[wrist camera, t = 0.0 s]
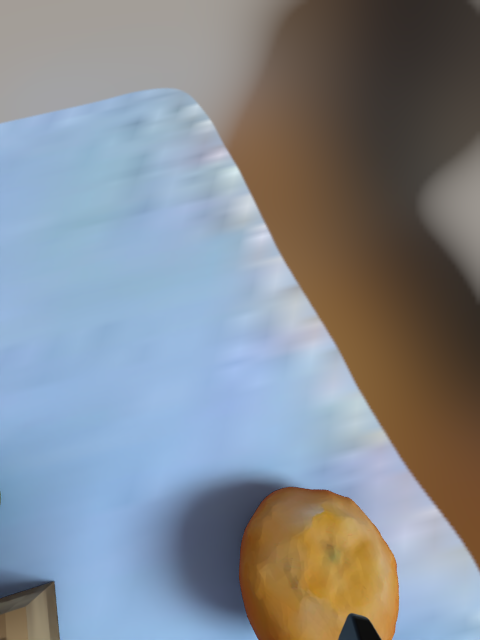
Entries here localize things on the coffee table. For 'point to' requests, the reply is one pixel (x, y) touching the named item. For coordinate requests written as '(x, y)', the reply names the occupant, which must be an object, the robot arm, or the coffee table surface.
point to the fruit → (315, 567)
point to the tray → (30, 615)
